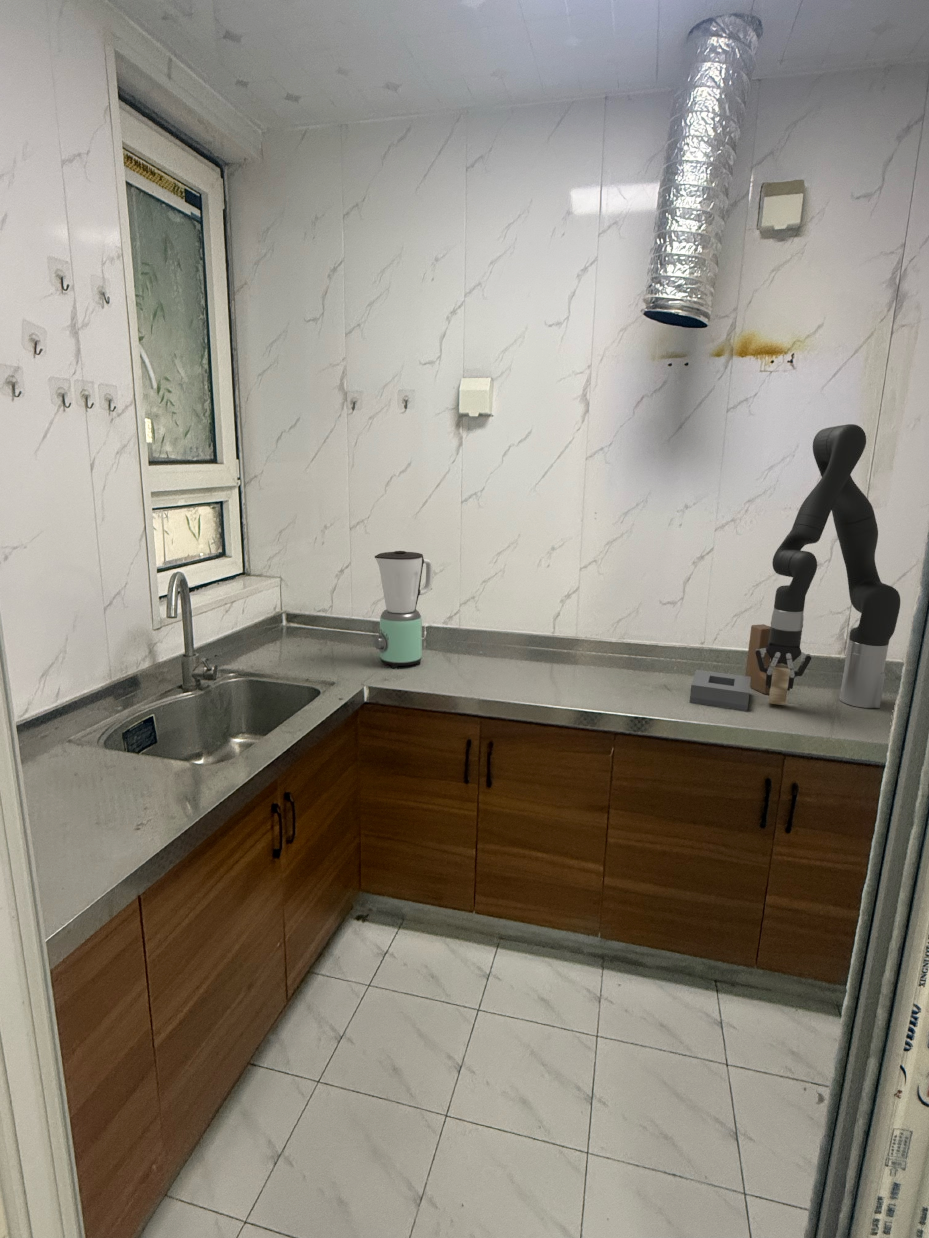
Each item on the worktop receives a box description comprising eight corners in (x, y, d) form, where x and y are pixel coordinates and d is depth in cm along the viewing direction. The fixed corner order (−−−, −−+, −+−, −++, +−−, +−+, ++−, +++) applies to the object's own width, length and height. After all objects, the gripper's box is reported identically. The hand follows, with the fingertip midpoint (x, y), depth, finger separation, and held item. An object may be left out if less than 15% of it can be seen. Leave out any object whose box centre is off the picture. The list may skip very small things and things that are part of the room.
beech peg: (784, 700, 183) (789, 664, 181) (785, 705, 180) (790, 669, 177) (768, 698, 185) (773, 663, 182) (768, 703, 181) (773, 667, 179)
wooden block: (778, 693, 192) (786, 631, 188) (764, 694, 191) (772, 632, 186) (756, 683, 200) (764, 623, 196) (743, 684, 199) (750, 624, 195)
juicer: (386, 672, 203) (385, 556, 195) (367, 661, 214) (365, 550, 206) (440, 663, 213) (442, 552, 205) (420, 652, 224) (420, 546, 216)
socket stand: (748, 693, 191) (750, 676, 190) (747, 711, 178) (749, 693, 177) (694, 686, 197) (696, 669, 195) (689, 702, 184) (691, 684, 183)
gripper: (815, 625, 178) (807, 688, 182) (756, 620, 183) (749, 680, 187) (818, 632, 171) (809, 697, 175) (756, 626, 176) (749, 689, 180)
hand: (778, 688), depth 181 cm, fingers closed on beech peg, 4 cm apart
